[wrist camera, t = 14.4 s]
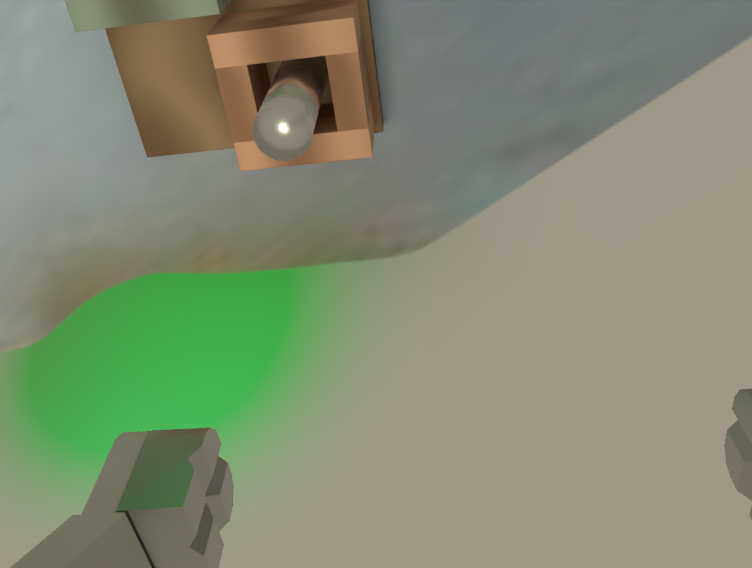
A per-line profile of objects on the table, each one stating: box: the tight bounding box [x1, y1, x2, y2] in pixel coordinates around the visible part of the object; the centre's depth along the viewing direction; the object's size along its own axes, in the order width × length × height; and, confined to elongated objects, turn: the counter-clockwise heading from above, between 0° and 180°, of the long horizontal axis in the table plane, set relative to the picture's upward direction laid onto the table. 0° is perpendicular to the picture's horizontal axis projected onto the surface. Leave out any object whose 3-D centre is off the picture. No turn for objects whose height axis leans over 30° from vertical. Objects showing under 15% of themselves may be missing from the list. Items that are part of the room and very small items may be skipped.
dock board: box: [65, 0, 383, 171], centre depth 40 cm, size 16×18×6 cm
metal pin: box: [252, 56, 328, 161], centre depth 40 cm, size 3×3×10 cm
